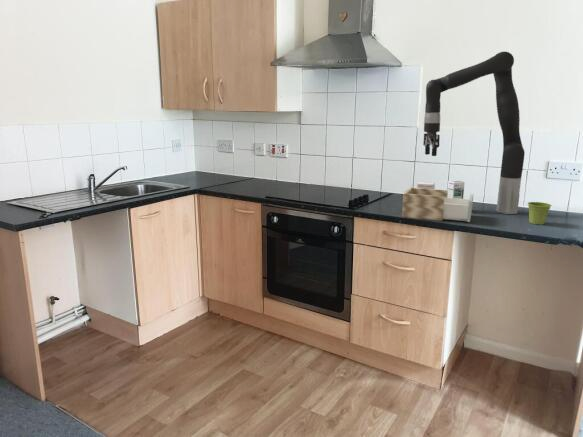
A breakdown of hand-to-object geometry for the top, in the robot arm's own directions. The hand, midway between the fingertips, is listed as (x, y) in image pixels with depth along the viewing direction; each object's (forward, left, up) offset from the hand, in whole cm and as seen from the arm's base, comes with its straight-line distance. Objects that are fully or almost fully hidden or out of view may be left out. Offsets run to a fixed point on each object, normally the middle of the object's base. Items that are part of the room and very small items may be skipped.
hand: (430, 155), depth 237 cm
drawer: (-13, +21, -25) cm, 35 cm away
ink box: (+1, -2, -26) cm, 27 cm away
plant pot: (-50, +16, -26) cm, 58 cm away
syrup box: (-14, +4, -26) cm, 30 cm away
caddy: (-2, +21, -26) cm, 33 cm away
